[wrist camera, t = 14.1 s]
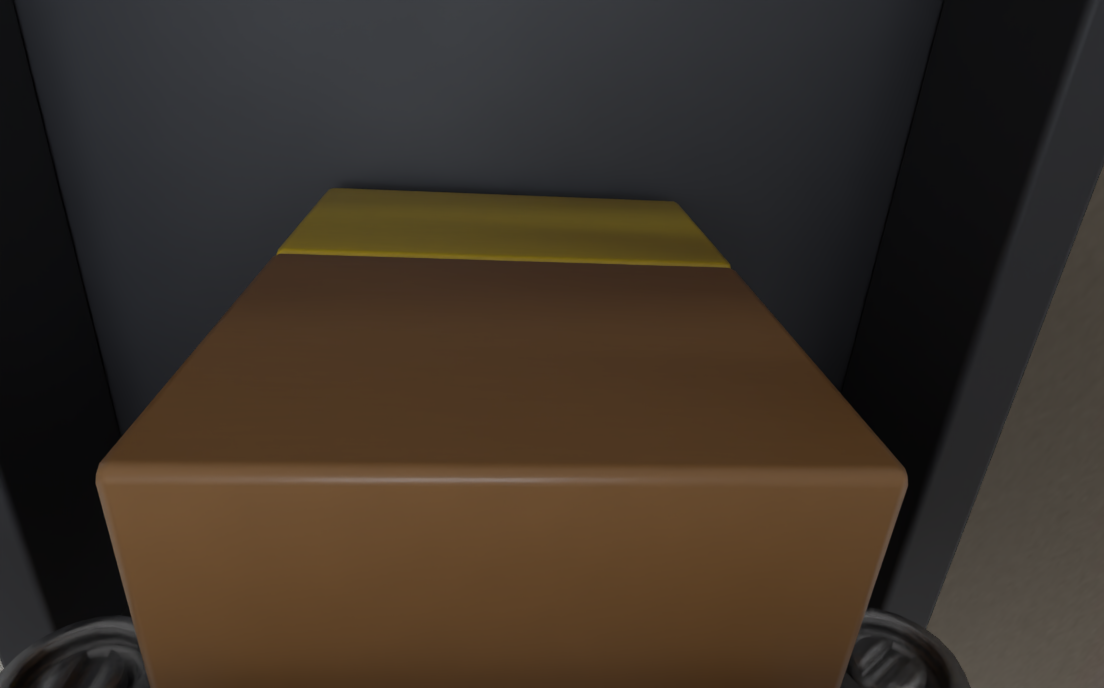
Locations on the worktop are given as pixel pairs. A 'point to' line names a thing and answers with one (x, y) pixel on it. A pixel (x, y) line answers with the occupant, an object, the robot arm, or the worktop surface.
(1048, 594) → the worktop surface
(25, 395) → the tray
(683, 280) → the scrub brush
